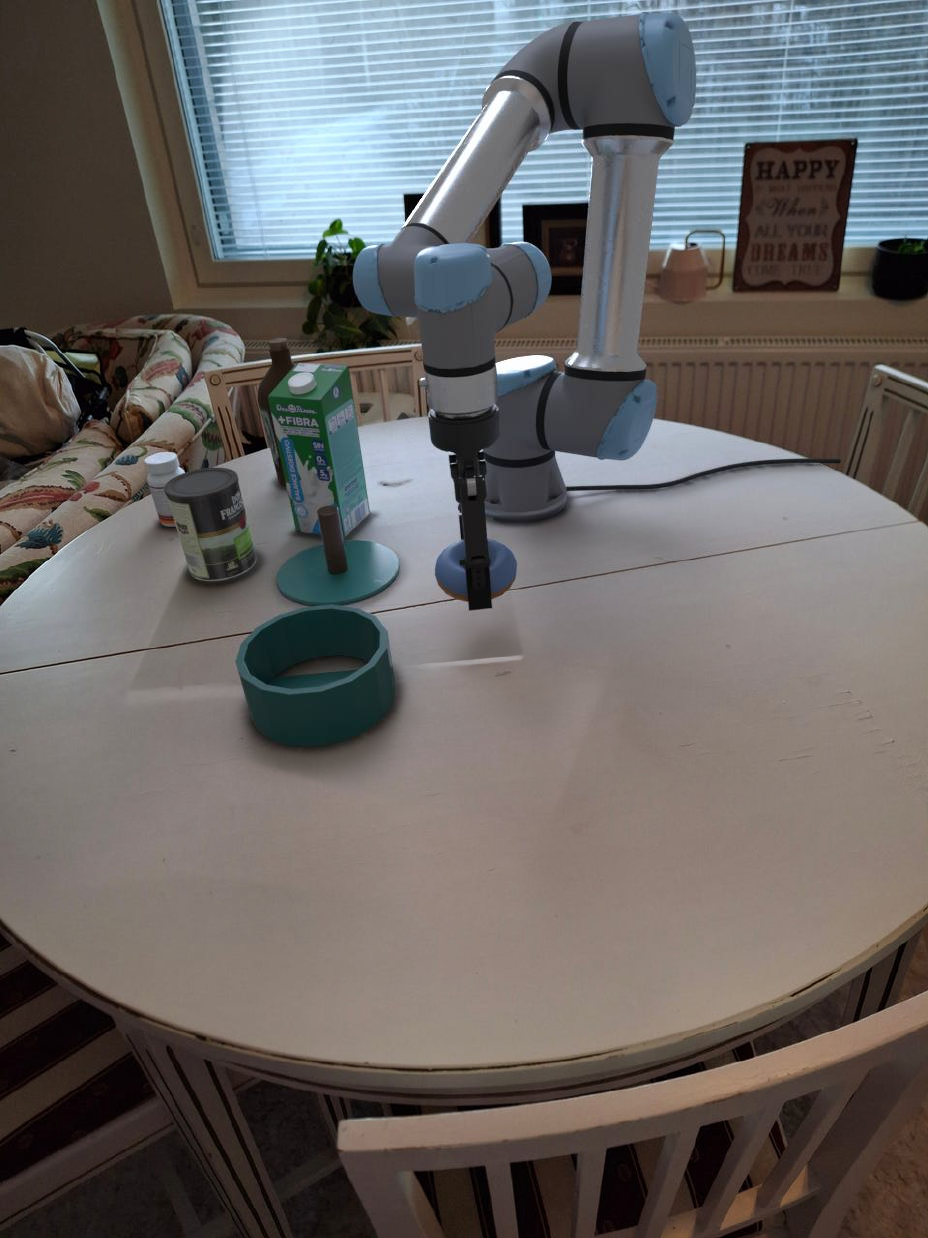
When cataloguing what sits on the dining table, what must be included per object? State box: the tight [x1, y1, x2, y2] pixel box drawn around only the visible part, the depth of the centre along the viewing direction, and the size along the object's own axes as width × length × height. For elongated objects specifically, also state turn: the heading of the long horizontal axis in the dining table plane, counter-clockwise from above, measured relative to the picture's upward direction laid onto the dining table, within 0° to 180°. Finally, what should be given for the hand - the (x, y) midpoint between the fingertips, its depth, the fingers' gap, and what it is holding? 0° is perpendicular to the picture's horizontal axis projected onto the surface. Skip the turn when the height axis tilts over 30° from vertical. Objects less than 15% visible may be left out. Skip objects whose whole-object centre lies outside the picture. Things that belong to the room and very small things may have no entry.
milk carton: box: [268, 362, 371, 539], centre depth 124 cm, size 9×9×25 cm
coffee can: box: [164, 467, 257, 582], centre depth 118 cm, size 10×10×14 cm
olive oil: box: [257, 337, 297, 489], centre depth 141 cm, size 11×11×25 cm
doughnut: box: [434, 538, 518, 603], centre depth 96 cm, size 10×10×5 cm
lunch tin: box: [235, 604, 396, 748], centre depth 92 cm, size 17×17×8 cm
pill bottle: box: [143, 451, 186, 528], centre depth 134 cm, size 6×6×11 cm
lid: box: [276, 506, 400, 606], centre depth 114 cm, size 18×18×11 cm
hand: (476, 583), depth 98 cm, fingers closed on doughnut, 10 cm apart
